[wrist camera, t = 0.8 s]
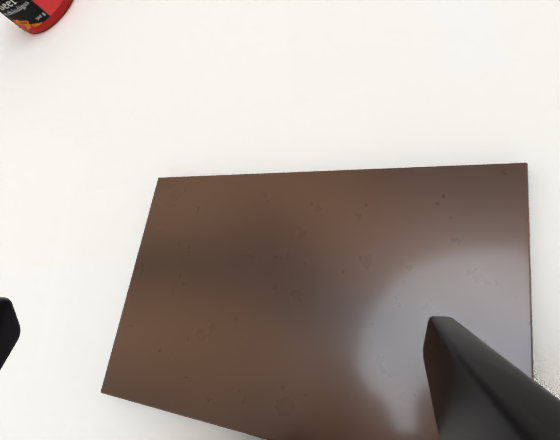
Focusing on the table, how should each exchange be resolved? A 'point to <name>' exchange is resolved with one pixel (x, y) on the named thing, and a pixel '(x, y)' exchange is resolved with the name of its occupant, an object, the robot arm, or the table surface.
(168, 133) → the table surface
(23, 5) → the canned food
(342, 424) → the walnut board
